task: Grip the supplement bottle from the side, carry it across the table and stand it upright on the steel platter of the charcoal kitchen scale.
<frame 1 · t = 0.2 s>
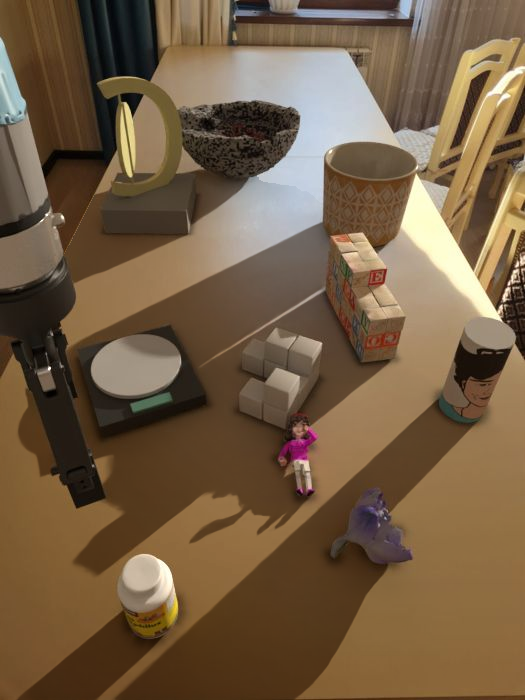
hand: (76, 445, 54), 19 cm above the table, tool pointing down, fingers open, 13 cm apart
bowl: (238, 172, 145), on the table
character figurine: (297, 462, 76), on the table
trophy: (153, 213, 128), on the table
kitchen scale: (140, 381, 87), on the table
illustrated cylindrical canister: (460, 406, 84), on the table
planter: (360, 230, 123), on the table
flower: (367, 549, 66), on the table
supplement bottle: (154, 615, 60), on the table
stack of blocks: (357, 322, 99), on the table
white cube cluster: (268, 391, 86), on the table
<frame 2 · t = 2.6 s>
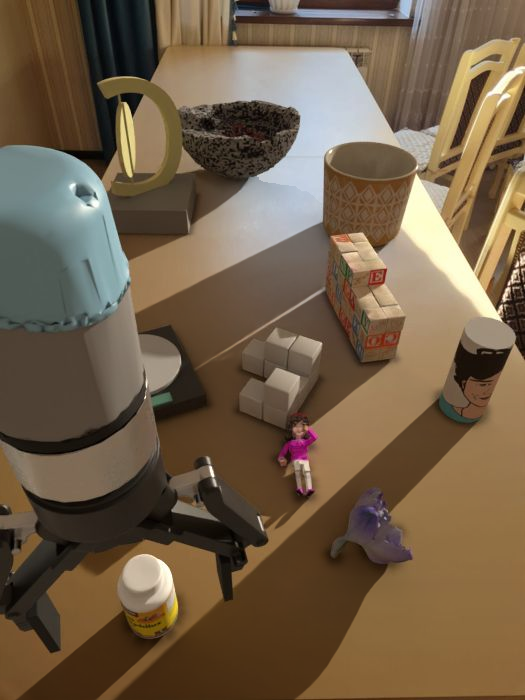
hand: (143, 609, 44), 17 cm above the table, tool pointing down, fingers open, 13 cm apart
nothing on the table moved.
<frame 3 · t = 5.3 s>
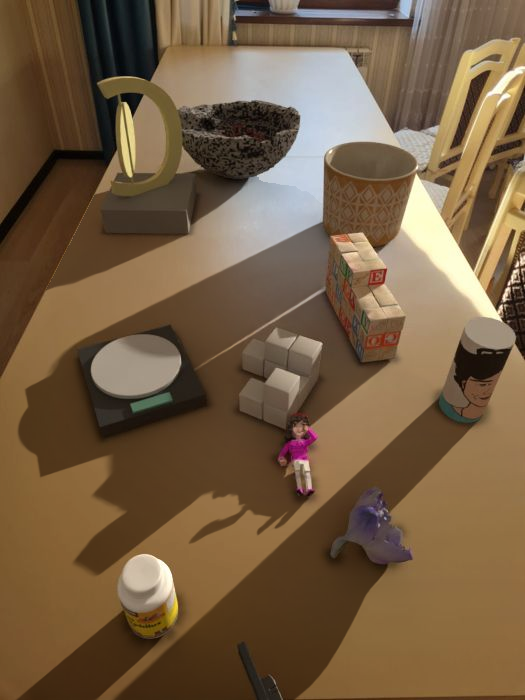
hand: (173, 682, 49), 7 cm above the table, tool horizontal, fingers open, 13 cm apart
nothing on the table moved.
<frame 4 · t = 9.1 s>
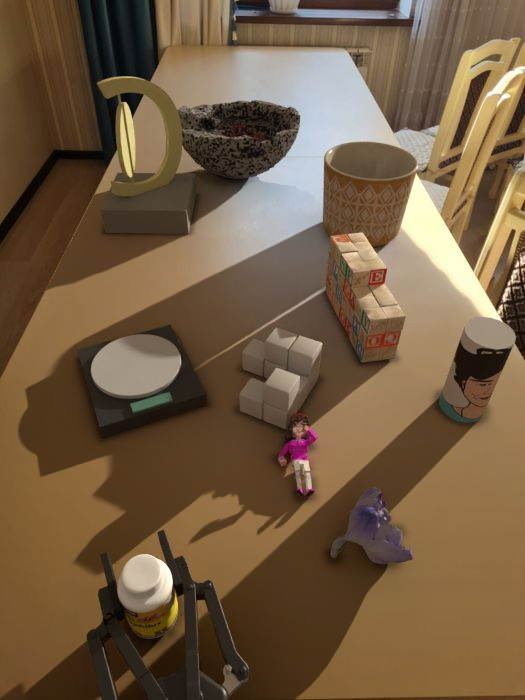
hand: (134, 547, 60), 6 cm above the table, tool horizontal, fingers closed on supplement bottle, 6 cm apart
supplement bottle: (154, 615, 60), on the table, touching gripper
everything else where it was.
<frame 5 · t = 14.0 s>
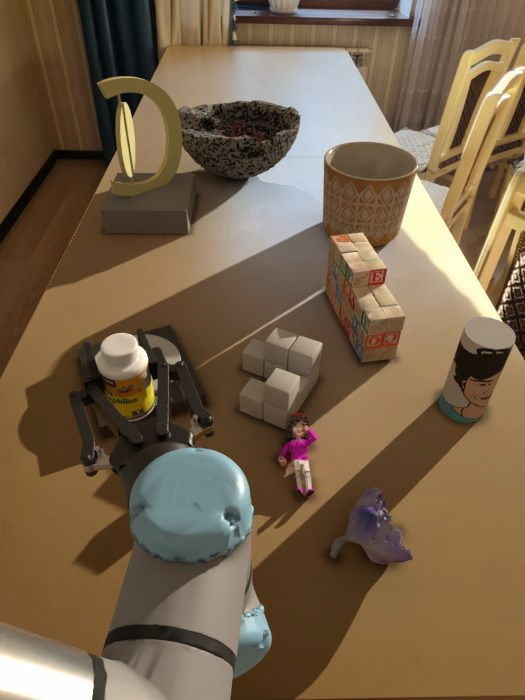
hand: (115, 343, 65), 19 cm above the table, tool horizontal, fingers closed on supplement bottle, 6 cm apart
supplement bottle: (133, 407, 66), point 13 cm above the table, touching gripper
everything else where it was.
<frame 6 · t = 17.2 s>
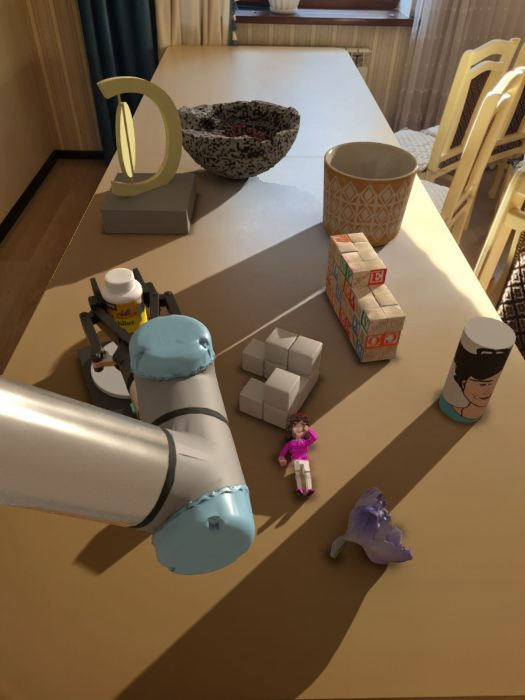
hand: (115, 280, 80), 16 cm above the table, tool horizontal, fingers closed on supplement bottle, 6 cm apart
supplement bottle: (130, 333, 81), point 9 cm above the table, touching gripper
everything else where it was.
when the fingers open (9 cm above the table, at t = 19.3 s): supplement bottle stays where it is, resting on kitchen scale.
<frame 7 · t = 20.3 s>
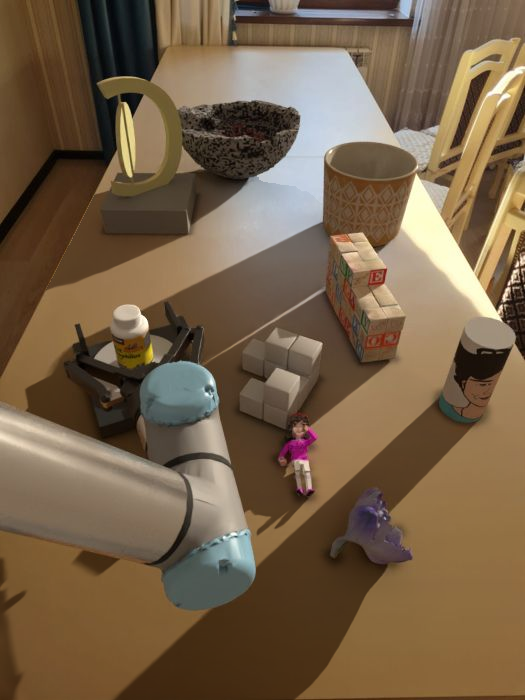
hand: (124, 319, 83), 10 cm above the table, tool horizontal, fingers open, 13 cm apart
supplement bottle: (136, 363, 85), point 3 cm above the table, touching kitchen scale
everything else where it was.
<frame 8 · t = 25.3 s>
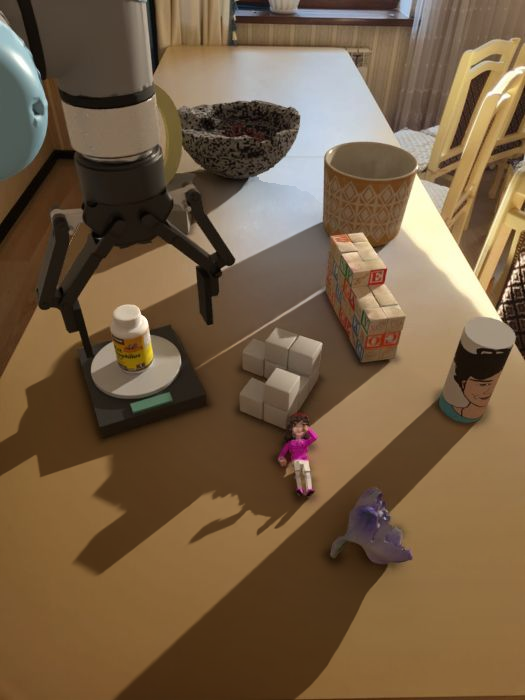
hand: (149, 333, 61), 23 cm above the table, tool pointing down, fingers open, 13 cm apart
nothing on the table moved.
at the end: supplement bottle inside the target area on the kitchen scale (0.0 cm from its centre), point 3.0 cm above the kitchen scale's base; supplement bottle tilted 0°; the gripper is holding nothing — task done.
